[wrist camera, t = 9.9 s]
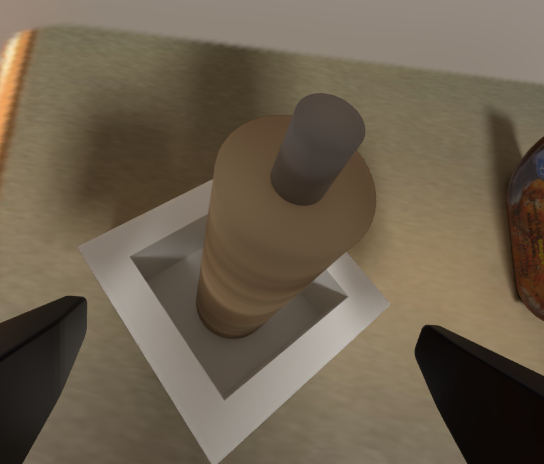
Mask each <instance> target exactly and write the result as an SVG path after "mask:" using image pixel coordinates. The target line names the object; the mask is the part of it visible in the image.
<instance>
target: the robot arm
mask: <svg viewBox="0 0 544 464" xmlns="http://www.w3.org/2000/svg"><path fill="white" fill-rule="evenodd" d="M86 329H87V300H86V298H85V297H80V296H65V297H63V298H60V299H58V300H55V301H53V302H50V303H48V304H45V305H43V306H41V307H38V308H36V309H33V310H31V311H28V312H26V313H23V314H21V315H19V316H16V317H14V318H11V319H9V320H6V321H4V322H1V323H0V464H22V463H23V462H24V460H25V458H26V456H27V454H28V453H29V451H30V449H31V447H32V445H33V444H34V442H35V440H36V438H37V437H38V435H39V433H40V431H41V429H42V428H43V426H44V424H45V422H46V420H47V419H48V417H49V415H50V413H51V411H52V410H53V408H54V406H55V404H56V402H57V400H58V398H59V397H60V395H61V392H62V390H63V388H64V386H65V383H66V381H67V378H68V376H69V374H70V371H71V369H72V366H73V364H74V362H75V359H76V357H77V354H78V352H79V350H80V347H81V345H82V342H83V340H84V337H85V334H86ZM415 358H416V360H417V363H418V365H419V367H420V370H421V372H422V374H423V377H424V379H425V381H426V384H427V386H428V388H429V391H430V393H431V395H432V397H433V400H434V402H435V404H436V406H437V408H438V410H439V412H440V414H441V416H442V418H443V420H444V422H445V424H446V425H447V427H448V429H449V431H450V433H451V435H452V436H453V438H454V440H455V442H456V444H457V446H458V448H459V449H460V451H461V453H462V455H463V457H464V459H465V460H466V462H467V464H544V376H543V375H541V374H539V373H536V372H534V371H532V370H530V369H528V368H526V367H524V366H522V365H520V364H518V363H516V362H514V361H512V360H509V359H507V358H505V357H503V356H501V355H499V354H497V353H495V352H493V351H491V350H489V349H487V348H485V347H483V346H480V345H478V344H476V343H474V342H472V341H470V340H468V339H466V338H464V337H462V336H460V335H458V334H456V333H453V332H451V331H449V330H447V329H445V328H443V327H441V326H438V325H425V326H424V327H423V328H422V330H421V332H420V335H419V338H418V341H417V344H416V347H415Z"/></svg>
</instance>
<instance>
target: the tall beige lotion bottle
mask: <svg viewBox="0 0 544 464" xmlns="http://www.w3.org/2000/svg"><path fill="white" fill-rule="evenodd" d="M364 136H365V125H364V122H363V120H362V118H361V116H360V114H359V113H358V112H357V110H356V109H355V108H354V107H353V106H352V105H350V104H349V103H348V102H346V101H345V100H343V99H341V98H339V97H336V96H334V95H330V94H324V93H317V94H311V95H308V96H306V97H304V98H303V99H302V100H300V102H299V103H298V104H297V106H296V109H295V111H294V114H293V116H292V115H270V116H264V117H260V118H256V119H253V120H251V121H249V122H246V123H245V124H243V125H241V126H239V127H238V128H237V129H236V130H234V131H233V132H232V133H231V134H230V135H229V136H228V137H227V138H226V140H225V141H224V143H223V144H222V146H221V148H220V150H219V152H218V154H217V158H216V162H215V168H214V175H213V182H212V189H211V197H210V204H209V211H208V218H207V225H206V232H205V239H204V246H203V253H202V260H201V268H200V275H199V282H198V289H197V296H196V308H197V312H198V315H199V317H200V320H201V321H202V323H203V324H204V325H205V327H206V328H207V329H209V330H210V331H211V332H212V333H214V334H216V335H218V336H220V337H223V338H228V339H237V338H243V337H246V336H248V335H250V334H252V333H254V332H255V331H256V330H257V329H259V328H260V327H261V326H262V325H263V324H264V323H265V322H267V321H268V320H269V319H270V318H271V317H272V316H273V315H275V314H276V313H277V312H278V311H279V310H280V309H281V308H283V307H284V306H285V305H286V304H287V303H288V302H289V301H291V300H292V299H293V298H294V297H295V296H296V295H297V294H299V293H300V292H301V291H302V290H303V289H304V288H305V287H307V286H308V285H309V284H310V283H311V282H312V281H314V280H315V279H316V278H317V277H318V276H319V275H320V274H322V273H323V272H324V271H325V270H326V269H327V268H328V267H330V266H331V265H332V264H333V263H334V262H335V261H336V260H338V259H339V258H340V257H341V256H342V255H343V254H344V253H346V252H347V251H348V250H349V249H350V248H351V247H352V246H354V245H355V244H356V243H357V242H358V241H359V240H360V239H361V238H362V237H363V236H364V234H365V233H366V232H367V230H368V229H369V227H370V225H371V223H372V220H373V217H374V214H375V208H376V191H375V185H374V182H373V178H372V175H371V173H370V171H369V168H368V167H367V165H366V163H365V161H364V160H363V158H362V157H361V155H360V154H359V153H358V152H357V148H358V147H359V145H360V144H361V143H362V141H363V139H364Z"/></svg>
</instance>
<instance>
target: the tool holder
mask: <svg viewBox="0 0 544 464" xmlns="http://www.w3.org/2000/svg"><path fill="white" fill-rule="evenodd" d="M212 182H213V179H212V180H210V181H208V182H206V183H204V184H202V185H200V186H198V187H196V188H194V189H192V190H190V191H188V192H186V193H184V194H182V195H180V196H178V197H176V198H174V199H172V200H170V201H168V202H166V203H164V204H162V205H160V206H158V207H156V208H154V209H152V210H150V211H148V212H146V213H144V214H142V215H140V216H138V217H136V218H134V219H132V220H130V221H128V222H126V223H124V224H122V225H120V226H118V227H116V228H114V229H112V230H110V231H108V232H106V233H104V234H102V235H100V236H98V237H96V238H94V239H92V240H89V241H87V242H85V243H83V244H81V245H79V246H77V248H78V249H79V251H80V252H81V254H82V256H83V257H84V259H85V261H86V262H87V264H88V265H89V267H90V269H91V270H92V272H93V273H94V275H95V277H96V278H97V280H98V282H99V283H100V285H101V286H102V288H103V290H104V291H105V293H106V294H107V296H108V298H109V299H110V301H111V303H112V304H113V306H114V307H115V309H116V311H117V312H118V314H119V315H120V317H121V319H122V320H123V322H124V324H125V325H126V327H127V328H128V330H129V332H130V333H131V335H132V336H133V338H134V340H135V341H136V343H137V345H138V346H139V348H140V349H141V351H142V353H143V354H144V356H145V357H146V359H147V361H148V362H149V364H150V366H151V367H152V369H153V370H154V372H155V374H156V375H157V377H158V378H159V380H160V382H161V383H162V385H163V387H164V388H165V390H166V391H167V393H168V395H169V396H170V398H171V399H172V401H173V403H174V404H175V406H176V408H177V409H178V411H179V412H180V414H181V416H182V417H183V419H184V420H185V422H186V424H187V425H188V427H189V429H190V430H191V432H192V433H193V435H194V437H195V438H196V440H197V441H198V443H199V445H200V446H201V448H202V450H203V451H204V453H205V454H206V456H207V458H208V459H209V461H210V462H211V464H218V463H219V462H220V461H221V460H222V459H224V458H225V457H226V456H227V455H228V454H229V453H230V452H231V451H232V450H233V449H234V448H235V447H237V446H238V445H239V444H240V443H241V442H242V441H243V440H244V439H245V438H246V437H247V436H248V435H250V434H251V433H252V432H253V431H254V430H255V429H256V428H257V427H258V426H259V425H260V424H262V423H263V422H264V421H265V420H266V419H267V418H268V417H269V416H270V415H271V414H272V413H273V412H275V411H276V410H277V409H278V408H279V407H280V406H281V405H282V404H283V403H284V402H285V401H286V400H288V399H289V398H290V397H291V396H292V395H293V394H294V393H295V392H296V391H297V390H298V389H300V388H301V387H302V386H303V385H304V384H305V383H306V382H307V381H308V380H309V379H310V378H311V377H313V376H314V375H315V374H316V373H317V372H318V371H319V370H320V369H321V368H322V367H323V366H324V365H326V364H327V363H328V362H329V361H330V360H331V359H332V358H333V357H334V356H335V355H336V354H337V353H339V352H340V351H341V350H342V349H343V348H344V347H345V346H346V345H347V344H348V343H349V342H351V341H352V340H353V339H354V338H355V337H356V336H357V335H358V334H359V333H360V332H361V331H362V330H364V329H365V328H366V327H367V326H368V325H369V324H370V323H371V322H372V321H373V320H374V319H375V318H377V317H378V316H379V315H380V314H381V313H382V312H383V311H384V310H385V309H386V308H387V307H389V306H390V305H391V304H390V303H389V302H388V300H387V299H386V298H385V297H384V296H383V295H382V293H381V292H380V291H379V290H378V289H377V287H376V286H375V285H374V284H373V283H372V281H371V280H370V279H369V278H368V277H367V276H366V274H365V273H364V272H363V271H362V270H361V268H360V267H359V266H358V265H357V264H356V262H355V261H354V260H353V259H352V258H351V256H350V255H349V254H348V253H347V252H346V253H344V254H343V255H342V256H341V257H340V258H339V259H338V260H336V261H335V262H334V263H333V264H332V265H331V266H330V267H328V268H327V269H326V270H325V271H324V272H323V273H322V274H320V275H319V276H318V277H317V278H316V279H315V280H314V281H312V282H311V283H310V284H309V285H308V286H307V287H305V288H304V289H303V290H302V291H301V292H300V293H299V294H297V295H296V296H295V297H294V298H293V299H292V300H291V301H289V302H288V303H287V304H286V305H285V306H284V307H283V308H281V309H280V310H279V311H278V312H277V313H276V314H275V315H273V316H272V317H271V318H270V319H269V320H268V321H267V322H265V323H264V324H263V325H262V326H261V327H260V328H259V329H257V330H256V331H255V332H254V333H252V334H250V335H248V336H246V337H243V338H237V339H228V338H223V337H220V336H218V335H216V334H214V333H212V332H211V331H210V330H209V329H207V328H206V327H205V325H204V324H203V323H202V321H201V320H200V317H199V315H198V312H197V308H196V296H197V289H198V282H199V275H200V268H201V260H202V253H203V246H204V239H205V232H206V225H207V218H208V211H209V204H210V197H211V189H212Z"/></svg>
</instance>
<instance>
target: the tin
mask: <svg viewBox="0 0 544 464" xmlns="http://www.w3.org/2000/svg"><path fill="white" fill-rule="evenodd" d="M506 205H507V212H508V220H509V228H510V236H511V245H512V254H513V263H514V272H515V280H516V286H517V290H518V293H519V295H520V297H521V299H522V301H523V303H524V304H525V306H526V307H527V308H528V309H529V310H530V311H531V312H532V313H533V314H534V315H535V316H536V317H538V318H539V319H541V320H542V321H544V137H542V138H541V139H540V140H539V141H538V142H536V143H535V144H534V145H533V146H532V147H531V148H530V149H529V150H528V152H527V153H526V154H525V155H524V157H523V158H522V159H521V160H520V162H519V163H518V165H517V167H516V168H515V170H514V172H513V174H512V176H511V178H510V181H509V184H508V187H507V193H506Z"/></svg>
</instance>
